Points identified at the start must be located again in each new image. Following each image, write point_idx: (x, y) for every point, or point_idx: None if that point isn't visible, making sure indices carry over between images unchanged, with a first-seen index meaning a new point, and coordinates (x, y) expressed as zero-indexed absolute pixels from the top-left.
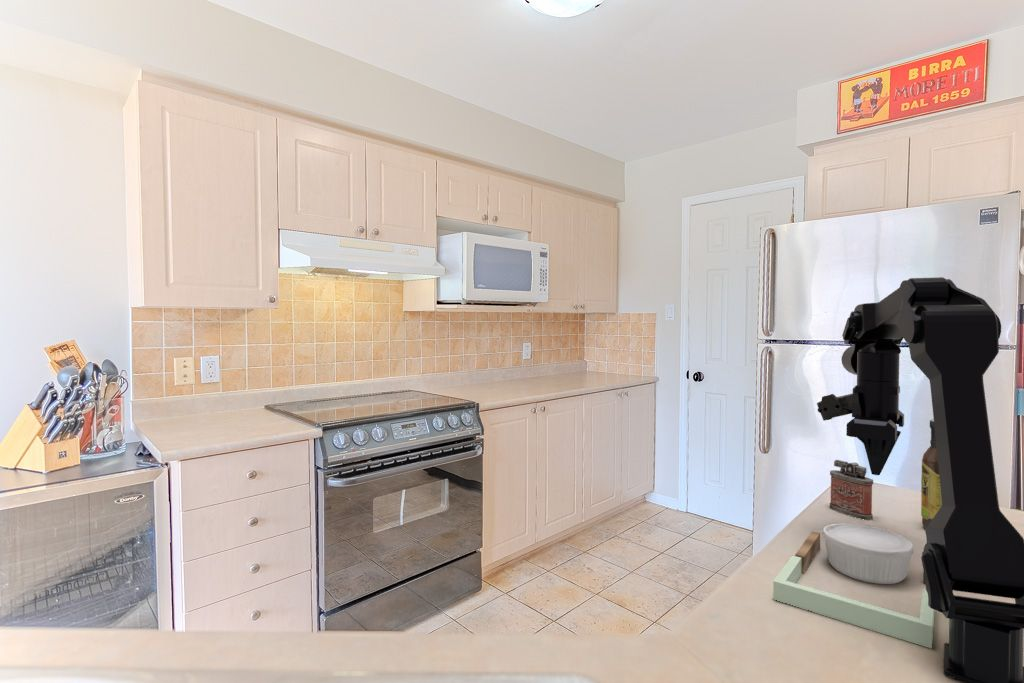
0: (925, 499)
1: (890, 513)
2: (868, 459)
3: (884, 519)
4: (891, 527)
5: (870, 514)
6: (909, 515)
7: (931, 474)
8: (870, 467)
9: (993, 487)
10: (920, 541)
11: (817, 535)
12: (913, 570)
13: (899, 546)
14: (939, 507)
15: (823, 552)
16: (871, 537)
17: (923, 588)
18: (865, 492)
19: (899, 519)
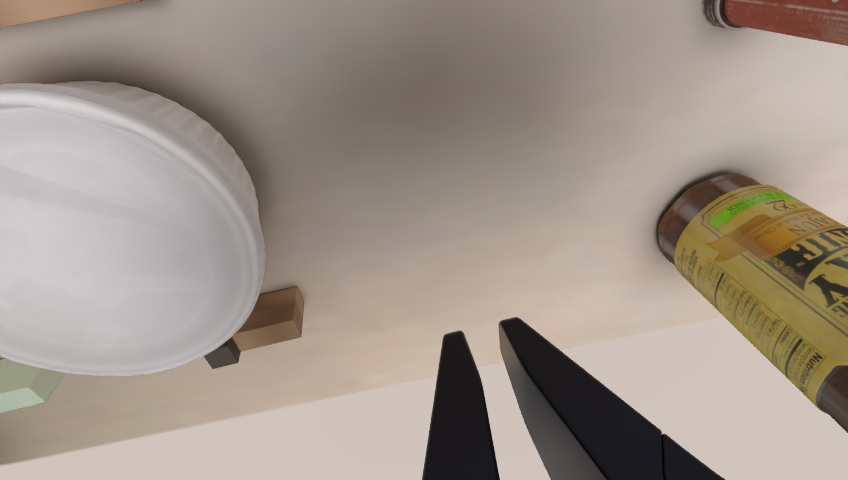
0: (763, 244)
1: (835, 53)
2: (426, 450)
3: (745, 61)
4: (656, 109)
5: (735, 24)
6: (831, 108)
7: (845, 345)
8: (438, 378)
9: None
10: (560, 208)
11: (86, 5)
12: (289, 266)
13: (113, 354)
14: (716, 274)
15: (137, 25)
16: (93, 280)
17: (29, 387)
18: (823, 20)
19: (768, 99)
